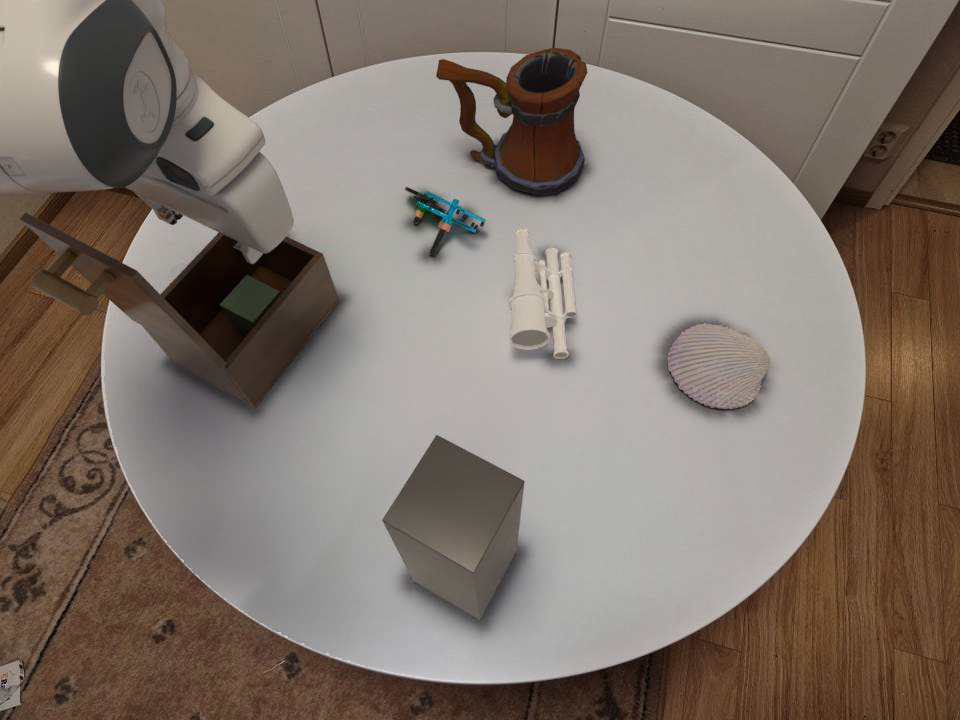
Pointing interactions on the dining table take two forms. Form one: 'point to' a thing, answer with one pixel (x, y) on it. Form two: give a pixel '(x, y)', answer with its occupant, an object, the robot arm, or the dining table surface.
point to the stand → (457, 525)
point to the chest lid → (112, 289)
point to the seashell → (718, 365)
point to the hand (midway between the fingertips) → (211, 236)
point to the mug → (528, 118)
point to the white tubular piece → (540, 298)
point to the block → (248, 303)
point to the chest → (278, 330)
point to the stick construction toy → (441, 214)
